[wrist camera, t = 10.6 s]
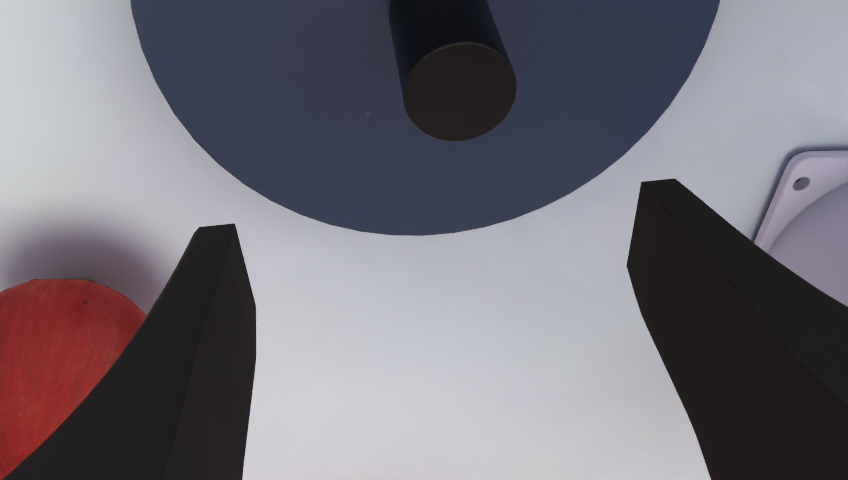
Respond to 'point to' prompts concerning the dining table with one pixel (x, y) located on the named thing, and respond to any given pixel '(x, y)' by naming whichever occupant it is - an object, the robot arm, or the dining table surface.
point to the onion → (54, 355)
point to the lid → (419, 98)
